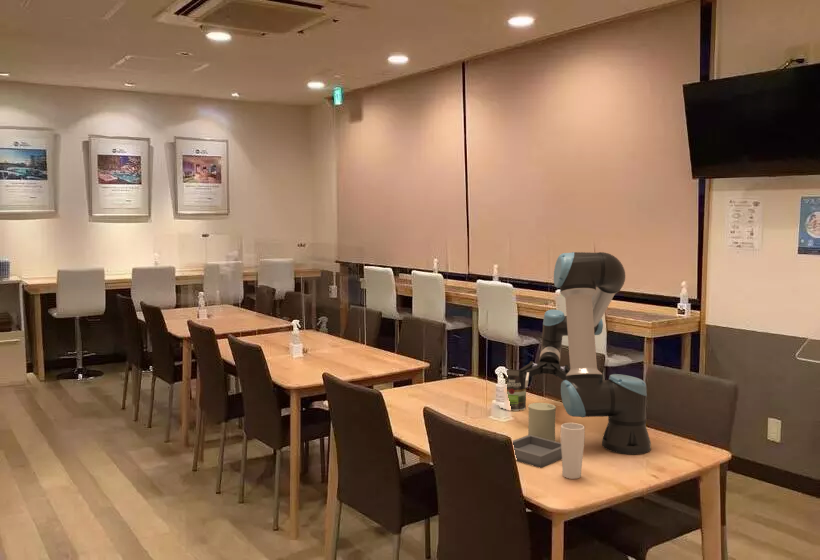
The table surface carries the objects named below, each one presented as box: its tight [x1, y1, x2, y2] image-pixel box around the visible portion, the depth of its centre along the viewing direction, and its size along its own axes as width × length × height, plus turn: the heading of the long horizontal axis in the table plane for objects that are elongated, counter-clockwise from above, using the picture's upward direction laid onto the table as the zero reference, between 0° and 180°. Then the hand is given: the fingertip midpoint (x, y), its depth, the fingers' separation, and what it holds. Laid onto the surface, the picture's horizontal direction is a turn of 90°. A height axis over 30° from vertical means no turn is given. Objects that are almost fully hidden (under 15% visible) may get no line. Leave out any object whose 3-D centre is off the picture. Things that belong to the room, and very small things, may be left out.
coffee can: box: [506, 369, 527, 412], centre depth 286 cm, size 10×10×14 cm
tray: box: [512, 434, 562, 469], centre depth 231 cm, size 15×15×4 cm
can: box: [527, 402, 557, 441], centre depth 247 cm, size 9×9×12 cm
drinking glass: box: [560, 422, 586, 480], centre depth 213 cm, size 7×7×15 cm
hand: (546, 386), depth 254 cm, fingers open, 13 cm apart
